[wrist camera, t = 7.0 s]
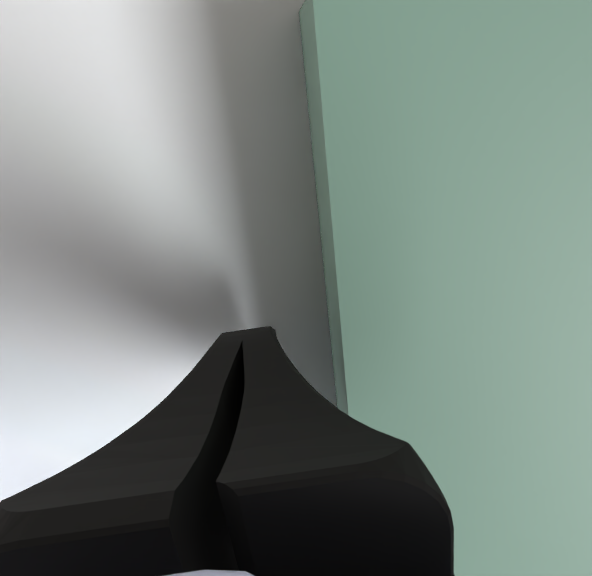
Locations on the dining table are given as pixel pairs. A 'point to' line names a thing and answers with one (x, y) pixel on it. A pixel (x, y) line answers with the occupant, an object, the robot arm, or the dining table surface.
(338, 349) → the green book
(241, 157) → the dining table surface
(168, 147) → the dining table surface
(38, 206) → the dining table surface
